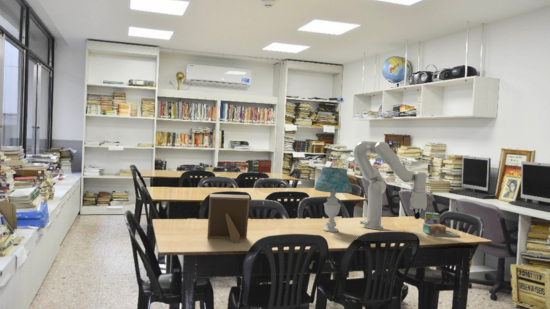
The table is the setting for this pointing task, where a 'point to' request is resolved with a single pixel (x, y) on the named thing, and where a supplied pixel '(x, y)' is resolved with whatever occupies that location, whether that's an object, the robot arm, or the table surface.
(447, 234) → the mat
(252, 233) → the table surface
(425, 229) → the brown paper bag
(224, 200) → the photo frame
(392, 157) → the robot arm
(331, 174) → the table lamp
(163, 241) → the table surface
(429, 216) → the colorful lidded canister
